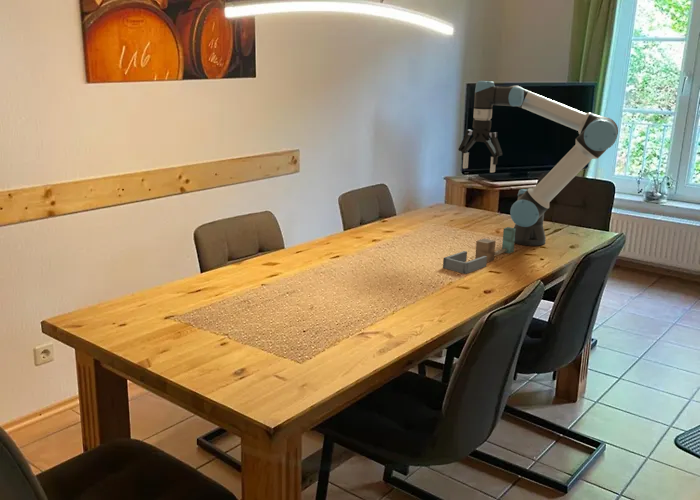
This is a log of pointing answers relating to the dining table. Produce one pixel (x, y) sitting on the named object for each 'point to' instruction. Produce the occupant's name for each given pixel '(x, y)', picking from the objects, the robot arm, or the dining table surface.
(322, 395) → the dining table surface
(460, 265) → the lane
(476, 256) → the tethered block
